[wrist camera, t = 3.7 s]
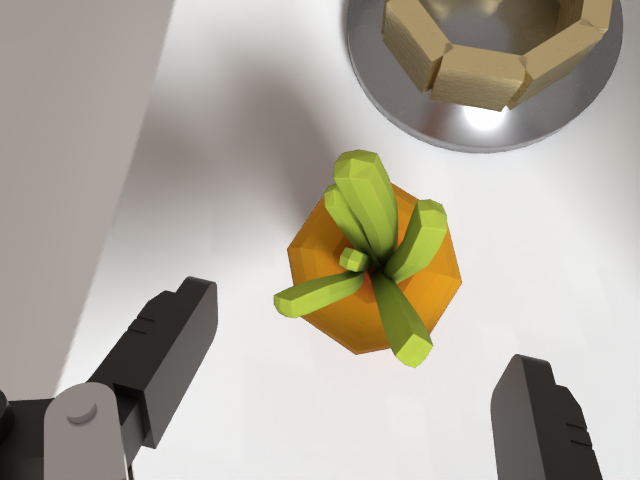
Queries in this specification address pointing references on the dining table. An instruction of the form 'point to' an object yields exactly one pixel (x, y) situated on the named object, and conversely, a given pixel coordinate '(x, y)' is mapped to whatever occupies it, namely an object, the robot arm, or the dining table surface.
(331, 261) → the carrot
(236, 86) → the dining table surface
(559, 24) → the hub socket
